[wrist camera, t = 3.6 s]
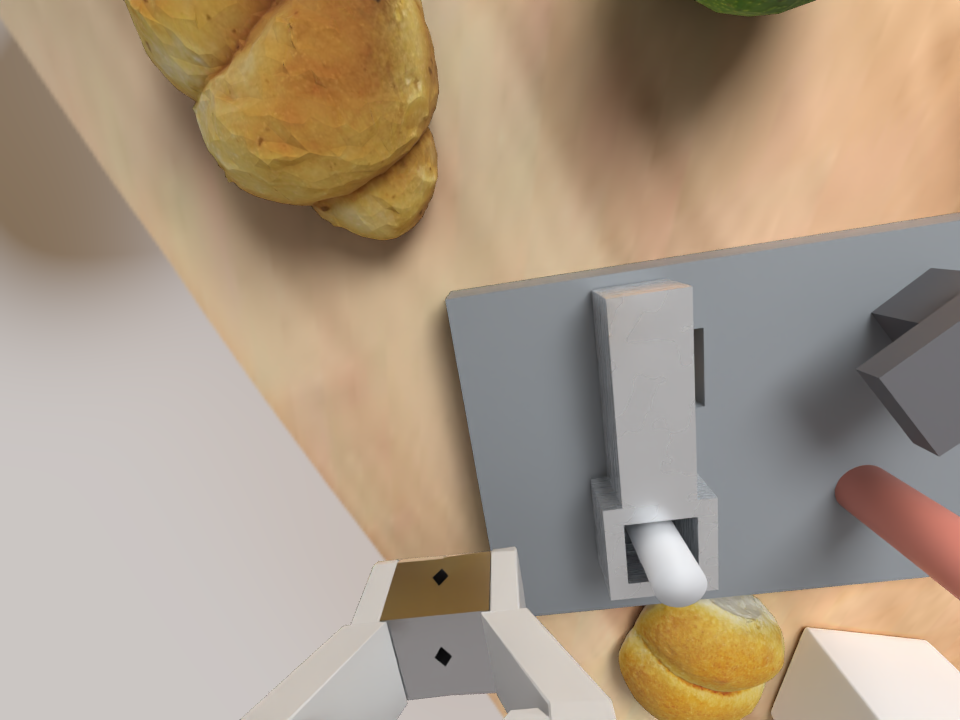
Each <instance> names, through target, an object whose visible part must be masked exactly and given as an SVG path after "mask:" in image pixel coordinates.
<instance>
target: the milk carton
mask: <svg viewBox="0 0 960 720" xmlns="http://www.w3.org/2000/svg"><path fill="white" fill-rule="evenodd" d="M771 715H772V717H773V719H774V720H960V672H959V671H958V670H957V669H956V668H955V667H954V666H953V665H952V664H951V663H950V662H949V661H948V660H947V659H946V658H945V657H943V656H942V655H941V654H940V653H939V652H938V651H937V650H936V649H935V648H934V647H933V646H932V645H931V644H930V643H929V642H927V641H926V640H920V639H912V638H903V637H894V636H885V635H876V634H866V633H857V632H848V631H839V630H829V629H820V628H810V627H806V628H805V629H804V631H803V633H802V636H801V638H800V641H799V643H798V646H797V648H796V650H795V653H794V655H793V658H792V660H791V663H790V665H789V668H788V670H787V673H786V675H785V678H784V680H783V683H782V685H781V687H780V690H779V692H778V695H777V697H776V700H775V702H774V705H773V707H772V710H771Z"/></svg>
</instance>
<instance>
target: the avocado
mask: <svg viewBox="0 0 960 720" xmlns="http://www.w3.org/2000/svg"><path fill="white" fill-rule="evenodd" d="M695 1H697V2H698V3H700V4H702V5H704V6H706V7H707V8H709V9H711V10H713V11H715V12H717V13H724V14H732V15H740V16H748V17H750V16H760V15H770V14H779V13H782V12H785V11H787V10H790V9H793V8H796V7H799V6H801V5H804V4H807V3H810V2H812V1H815V0H695Z"/></svg>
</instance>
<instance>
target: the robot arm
mask: <svg viewBox="0 0 960 720" xmlns="http://www.w3.org/2000/svg"><path fill="white" fill-rule="evenodd" d="M485 693H497V696H498V698H499V699H500V701H501V703H502V705H503V706H504V708H505V710H506V712H507V713H508V714H507V715H506V716H505V718H504V719H503V720H616V716H615V712H614V708H613V704H612V700H611V699H610V698H609V697H608V696H607V695H606V694H605V692H604V691H603V690H602V689H601V688H600V687H599V686H598V685H597V684H596V683H595V682H594V680H593V679H592V678H591V677H590V676H589V675H588V674H587V673H586V672H585V671H584V669H583V668H582V667H581V666H580V665H579V664H578V663H577V662H576V661H575V660H574V659H573V657H572V656H571V655H570V654H569V653H568V652H567V651H566V650H565V649H564V648H563V646H562V645H561V644H560V643H559V642H558V641H557V640H556V639H555V638H554V637H553V636H552V634H551V633H550V632H549V631H548V630H547V629H546V628H545V627H544V626H543V625H542V623H541V622H540V621H539V620H538V619H537V618H536V617H535V616H534V615H533V614H532V613H531V611H530V610H529V609H528V608H526V604H525V597H524V590H523V584H522V577H521V571H520V565H519V558H518V552H517V549H516V547H508V548H500V549H493V550H491V551H483V552H474V553H465V554H456V555H447V556H446V555H445V556H433V557H421V558H409V559H400V560H389V561H379V562H377V563H376V564H375V565H374V566H373V568H372V570H371V573H370V576H369V578H368V581H367V583H366V586H365V588H364V591H363V594H362V596H361V599H360V601H359V604H358V607H357V609H356V612H355V615H354V617H353V620H352V622H351V625H346V626H343V627H341V628H340V629H339V630H338V631H337V632H336V633H335V634H334V635H333V636H331V637H330V638H329V639H328V640H327V641H326V642H325V643H324V644H323V645H322V646H321V647H320V648H318V649H317V650H316V651H315V652H314V653H313V654H312V655H311V656H310V657H308V658H307V659H306V660H305V661H304V662H303V663H302V664H301V665H300V666H298V667H297V668H296V669H295V670H294V671H293V672H292V673H291V674H290V675H288V676H287V677H286V678H285V679H284V680H283V681H282V682H281V683H280V684H279V685H278V686H276V687H275V688H274V689H273V690H272V691H271V692H270V693H269V694H268V695H266V696H265V697H264V698H263V699H262V700H261V701H260V702H259V703H258V704H257V705H255V706H254V707H253V708H252V709H251V710H250V711H249V712H248V713H247V714H246V715H244V716H243V717H242V718H241V719H240V720H397V719H398V717H399V716H400V714H401V713H402V711H403V710H404V708H405V707H406V705H407V700H414V699H423V698H431V697H440V696H448V695H464V694H485Z"/></svg>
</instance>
